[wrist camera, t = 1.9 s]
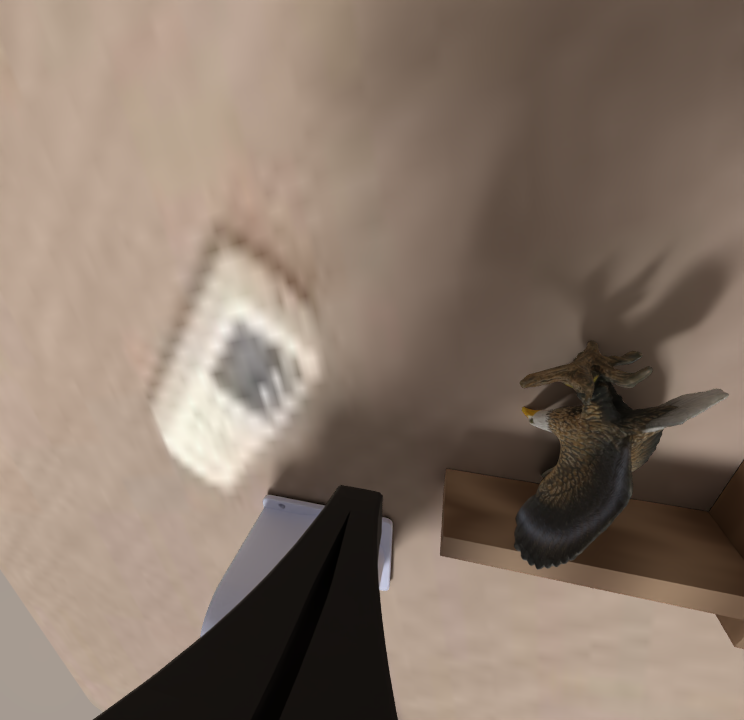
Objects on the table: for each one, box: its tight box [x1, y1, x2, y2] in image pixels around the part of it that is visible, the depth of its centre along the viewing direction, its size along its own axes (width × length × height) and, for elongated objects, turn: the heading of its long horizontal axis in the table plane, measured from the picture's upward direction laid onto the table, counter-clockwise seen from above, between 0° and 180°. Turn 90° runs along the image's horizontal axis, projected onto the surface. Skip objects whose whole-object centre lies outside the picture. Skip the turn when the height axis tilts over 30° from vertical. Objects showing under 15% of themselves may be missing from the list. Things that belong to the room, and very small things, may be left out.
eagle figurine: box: [514, 341, 729, 570], centre depth 15 cm, size 8×7×9 cm
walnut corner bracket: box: [440, 461, 744, 649], centre depth 15 cm, size 15×16×4 cm
